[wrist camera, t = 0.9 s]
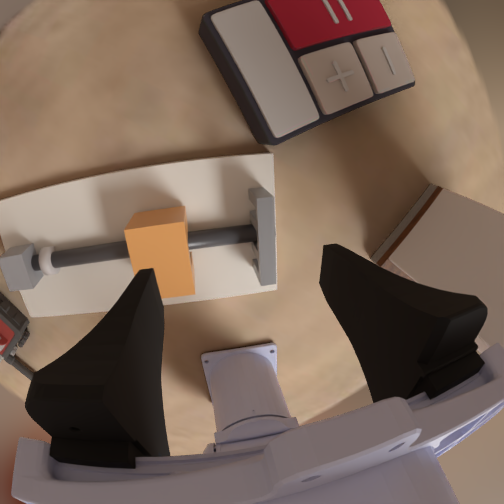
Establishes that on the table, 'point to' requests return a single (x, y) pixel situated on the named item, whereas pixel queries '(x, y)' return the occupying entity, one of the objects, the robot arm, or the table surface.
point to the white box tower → (452, 253)
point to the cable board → (118, 216)
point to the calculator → (304, 60)
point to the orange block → (162, 249)
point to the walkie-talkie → (12, 334)
